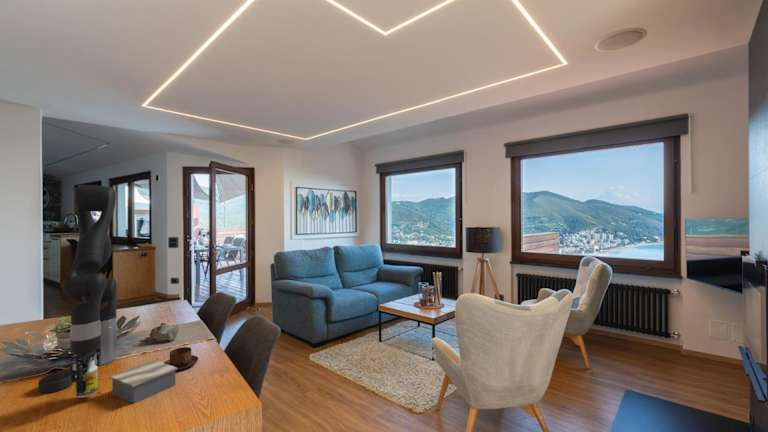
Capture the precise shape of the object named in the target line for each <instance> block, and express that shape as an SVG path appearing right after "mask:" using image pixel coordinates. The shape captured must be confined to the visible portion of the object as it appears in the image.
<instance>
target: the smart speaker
mask: <svg viewBox="0 0 768 432" xmlns="http://www.w3.org/2000/svg"><path fill="white" fill-rule="evenodd" d="M73 384H74V382H71V375H70V370H69V371H68V370H67V371H59V372H53V373H51V374H48V375H46V376H44V377H42V378H41V379H40V380H39V381H38V385H37V387H38V388H37V389H38V391H39V393H42V394H50V393H54V392H55V393H56V392H59V391H62V390H64V389H67V388H69V387H70V386H72V385H73Z"/></svg>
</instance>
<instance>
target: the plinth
mask: <svg viewBox="0 0 768 432" xmlns="http://www.w3.org/2000/svg"><path fill="white" fill-rule="evenodd" d="M177 369H178V368H177V367H174V366H171V365H168V364H165V363H164V362H161V361H158V360H155V359H154V360H153V359H152V360H151V361H148V362H145V363H142V364H140V365H137V366H135V367H132V368H129V369H126V370H123V371H120V372H117V373H115V374H112V375H109V379H112V382H111V383H112V384H111V385H112V387H111V388H112V395H115V396H117V397H119V398H120V399H123V400H124V401H128V402H130V403H132V404H136V403H138V402H140V401H143V400H145V399H147V398H150V397H152V396H154V395H157V394H159V393H161V392H163V391H165V390H167V389H170V388H172V387H175V386H176V371H178V370H177Z"/></svg>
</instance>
